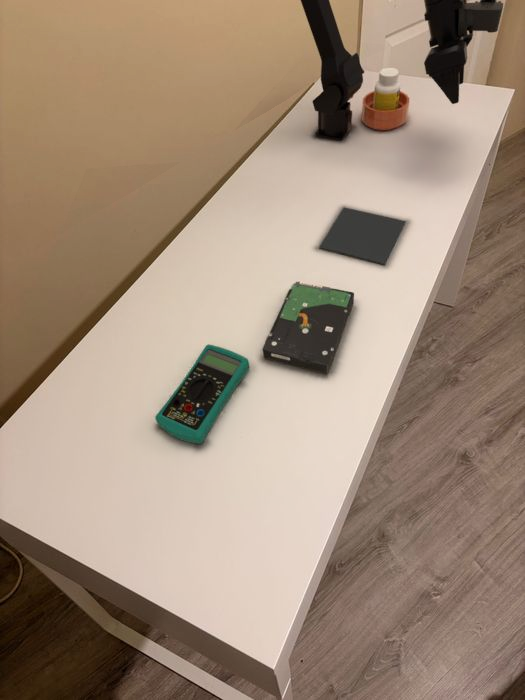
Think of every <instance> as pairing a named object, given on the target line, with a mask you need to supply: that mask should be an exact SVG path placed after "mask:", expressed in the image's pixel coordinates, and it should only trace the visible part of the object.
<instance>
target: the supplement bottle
mask: <svg viewBox="0 0 525 700" xmlns="http://www.w3.org/2000/svg"><path fill="white" fill-rule="evenodd" d="M399 75H400V72H399V70H398V69H397V68H394V67H385V68H382V69H380V71H379V74H378V80H377V81H376V83H375V85H374V90H373V91H374V101H373V109H375V110H381V111H390V110H396V109H397V108H398V100H399V93H400V91H401V83H400V81H398V80H399Z"/></svg>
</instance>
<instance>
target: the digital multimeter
mask: <svg viewBox="0 0 525 700" xmlns="http://www.w3.org/2000/svg"><path fill="white" fill-rule="evenodd" d="M250 368H251V367H250V362H249V359H248V358H247V357H245V356H243V355H241V354H240V353H237V352H234V351H232V350H230V349H227V348H223V347H220V346H217V345H213V344H206V345H205V346H204V348H203V349H202V351H201V353H200V354H199V355H198V357H197V359H196V360H195V362H194V363H193V365H192V366H191V368H190V369H189V371H188V372H187V374H186V376H185V377H184V378H183V380H182V381H181V383H180V384H179V385H178V387H177V388H176V389H175V391H174V392H173V393H172V394H171V396H170V397H169V398H168V400H167V401H166V402H165V403H164V405H163V406H162V407H161V409H160V410H159V411H158V413H157V414H156V415H155V416H154V418H155V421H156V423H157V424H158V426H159V427H161V429H163V430H164V431H165V432H167V434H169V435H171V436H172V437H174V438H176V439H178V440H181V441H184V442H188V443H193V444H197V445H200V444H203V443H204V440H205V439H206V437H207V435H208V433H209V432H210V430H211V428H212V427H213V425H214V423H215V421H216V420H217V418H218V416H219V414H220V412H221V411H222V410H223V408H224V406H225V405H226V403H227V402H228V400H229V399H230V397H231V396H232V394H233V393H234V391H235V389H236V388H237V387H238V385H239V384H240V382H241V381H242V380H243V378H244V377H245V375H246V374H247V373H248V371H249V370H250Z"/></svg>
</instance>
